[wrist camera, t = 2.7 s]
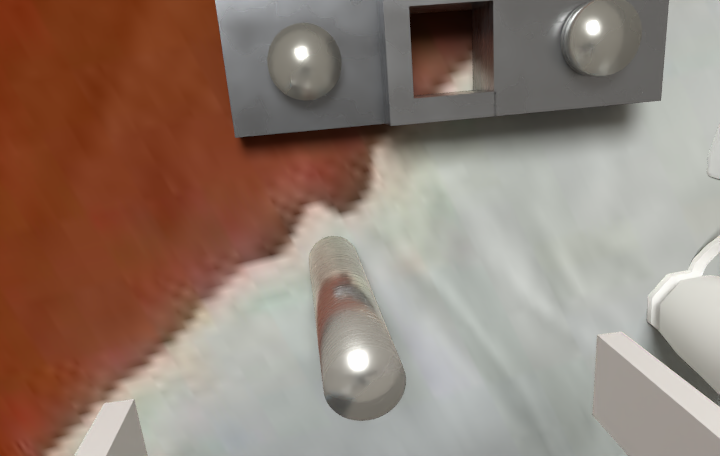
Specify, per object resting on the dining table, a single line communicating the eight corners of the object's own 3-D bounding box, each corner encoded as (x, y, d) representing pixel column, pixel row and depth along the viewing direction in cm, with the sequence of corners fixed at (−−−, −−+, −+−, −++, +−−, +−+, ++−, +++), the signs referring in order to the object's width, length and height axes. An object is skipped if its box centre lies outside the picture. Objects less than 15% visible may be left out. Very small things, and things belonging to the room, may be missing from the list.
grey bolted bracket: (238, 134, 25) (229, 143, 21) (219, 1, 24) (205, -15, 20) (621, 98, 27) (675, 101, 23) (629, -26, 26) (688, -45, 22)
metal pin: (311, 285, 28) (327, 426, 16) (306, 239, 27) (319, 353, 16) (359, 279, 28) (408, 414, 17) (355, 233, 27) (403, 341, 16)
